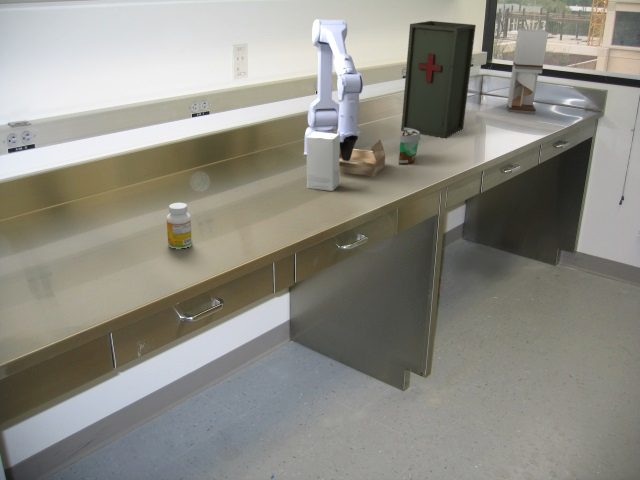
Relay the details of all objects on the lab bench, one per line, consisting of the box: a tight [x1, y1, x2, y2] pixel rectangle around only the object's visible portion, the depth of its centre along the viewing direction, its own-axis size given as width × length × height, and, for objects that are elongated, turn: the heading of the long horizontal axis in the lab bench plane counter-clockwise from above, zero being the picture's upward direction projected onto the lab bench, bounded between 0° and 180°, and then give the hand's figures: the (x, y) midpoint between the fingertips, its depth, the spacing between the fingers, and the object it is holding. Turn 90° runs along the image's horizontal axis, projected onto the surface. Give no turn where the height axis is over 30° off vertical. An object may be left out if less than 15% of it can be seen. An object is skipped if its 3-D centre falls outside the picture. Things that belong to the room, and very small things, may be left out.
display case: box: [506, 28, 550, 115], centre depth 291 cm, size 11×11×35 cm
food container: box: [398, 128, 422, 166], centre depth 216 cm, size 12×6×10 cm, turn 168°
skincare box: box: [306, 132, 340, 192], centre depth 188 cm, size 8×7×16 cm
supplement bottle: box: [166, 202, 193, 250], centre depth 148 cm, size 5×5×10 cm
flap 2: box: [370, 139, 386, 162], centre depth 204 cm, size 1×9×5 cm, turn 158°
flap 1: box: [339, 158, 365, 165], centre depth 200 cm, size 10×1×5 cm
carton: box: [339, 148, 386, 178], centre depth 210 cm, size 16×15×4 cm
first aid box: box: [400, 20, 477, 139], centre depth 251 cm, size 18×18×40 cm
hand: (346, 159), depth 198 cm, fingers closed
